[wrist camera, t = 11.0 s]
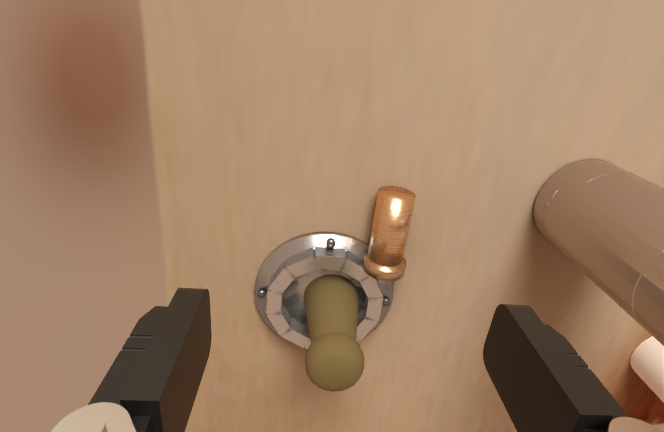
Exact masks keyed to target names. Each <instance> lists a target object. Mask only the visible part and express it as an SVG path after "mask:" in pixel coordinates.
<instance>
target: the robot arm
mask: <svg viewBox="0 0 664 432" xmlns="http://www.w3.org/2000/svg"><path fill="white" fill-rule="evenodd" d="M534 220H535V224H536V226H537V228H538V230H539V231H540V232H541V233H542V234H543V235H544V236H545V237H546V238H547V239H548V240H549V241H550V242H551V243H552V244H553V245H554V246H555V247H557V248H558V249H559V250H560V251H561V252H562V253H563V254H564V255H565V256H566V257H567V258H568V259H569V260H570V261H571V262H573V263H574V264H575V265H576V266H577V267H578V268H579V269H580V270H581V271H582V272H583V273H584V274H586V275H587V276H588V277H589V278H590V279H591V280H592V281H593V282H594V283H595V284H596V285H597V286H599V287H600V288H601V289H602V290H603V291H604V292H605V293H606V294H607V295H608V296H609V297H611V298H612V299H613V300H614V301H615V302H616V303H617V304H618V305H619V306H620V307H621V308H622V309H624V310H625V311H626V312H627V313H628V314H629V315H630V316H631V317H632V318H633V319H634V320H635V321H637V322H638V323H639V324H640V325H641V326H642V327H643V328H644V329H646V330H647V331H648V332H649V333H650V334H651V335H652V336H653V337H654V338H655V339H656V340H657V341H659V342H660V343H661V344H662V345H663V346H664V188H662V187H660V186H658V185H656V184H654V183H651V182H649V181H647V180H645V179H643V178H641V177H639V176H637V175H635V174H633V173H630V172H628V171H626V170H624V169H622V168H620V167H618V166H615V165H613V164H611V163H608V162H606V161H603V160H596V159H589V160H582V161H578V162H575V163H572V164H570V165H568V166H566V167H564V168H562V169H560V170H559V171H558V172H556V173H555V174H554V175H553V176H552V177H551V178H550V179H549V180H548V181H547V182H546V183H545V184H544V185H543V187H542V188H541V190H540V191H539V194H538V196H537V198H536V201H535V205H534ZM210 347H211V316H210V297H209V291H208V289H193V288H178V289H177V291H176V293H175V295H174V297H173V298H172V300H171V302H170V304H169V306H168V307H162V306H155V307H154V308H153V309H151V310H150V311H149V312H148V313H146V314H145V315H144V316H143V317H142V318H140V319H139V321H138V322H137V324H136V326H135V327H134V329H133V331H132V332H131V334H130V338H128V339H127V341H126V342H125V344H124V346H123V348H122V351H120V352H119V354H118V356H117V358H116V359H115V361H114V362H113V364H112V366H111V367H110V369H109V371H108V372H107V374H106V376H105V377H104V379H103V381H102V382H101V384H100V386H99V388H98V389H97V391H96V393H95V394H94V396H93V398H92V399H91V401H90V402H89V404H88V405H87V406H84V407H81V408H79V409H77V410H75V411H73V412H72V413H70V414H69V415H67V416H66V417H64V418H63V419H62V420H61V421H59V422H58V423H57V424H56V425H55V426H54V428H53V429H52V430H51V432H185V429H186V426H187V422H188V419H189V416H190V413H191V410H192V407H193V404H194V401H195V398H196V394H197V391H198V388H199V385H200V382H201V379H202V376H203V373H204V369H205V366H206V363H207V360H208V357H209V352H210ZM483 358H484V364H485V367H486V370H487V372H488V374H489V376H490V378H491V380H492V382H493V384H494V386H495V388H496V390H497V392H498V394H499V396H500V398H501V400H502V402H503V404H504V406H505V408H506V410H507V412H508V414H509V416H510V418H511V420H512V422H513V424H514V426H515V428H516V430H517V432H662V431H661V430H659V429H657V428H656V427H654V426H652V425H650V424H648V423H646V422H644V421H641V420H638V419H635V418H631V417H628V415H627V414H626V413H625V412H624V410H623V409H622V408H621V407H620V405H619V404H618V403H617V402H616V400H615V399H614V398H613V397H612V395H611V394H610V393H609V392H608V390H607V389H606V388H605V387H604V385H603V384H602V383H601V382H600V381H599V379H598V378H597V377H596V376H595V374H594V373H593V372H592V371H591V370H590V369H588V366H587V364H586V363H585V362H584V361H583V359H582V358H581V357H580V356H578V353H577V352H576V351H575V349H574V348H573V347H572V346H571V344H570V343H569V342H568V341H567V339H566V338H565V337H563V336H562V335H561V334H559V333H558V332H557V331H555V330H554V329H553V328H552V327H550V326H549V325H544V324H543V322H542V321H541V320H540V319H539V317H538V316H537V315H536V313H535V312H534V311H533V309H532V308H531V307H529V306H527V305H507V304H500V305H499V306H498V307H497V308H496V310H495V313H494V316H493V319H492V322H491V325H490V329H489V332H488V335H487V338H486V341H485V344H484V349H483Z"/></svg>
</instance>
